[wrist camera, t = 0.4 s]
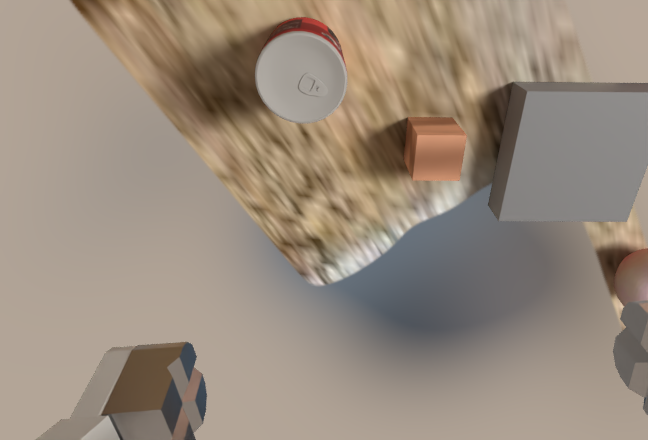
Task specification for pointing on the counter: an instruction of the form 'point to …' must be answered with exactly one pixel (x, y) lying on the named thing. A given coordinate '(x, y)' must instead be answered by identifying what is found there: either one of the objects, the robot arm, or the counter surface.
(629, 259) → the decorative fruit
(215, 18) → the counter surface
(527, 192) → the base slab
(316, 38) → the canned food
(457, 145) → the terracotta block
